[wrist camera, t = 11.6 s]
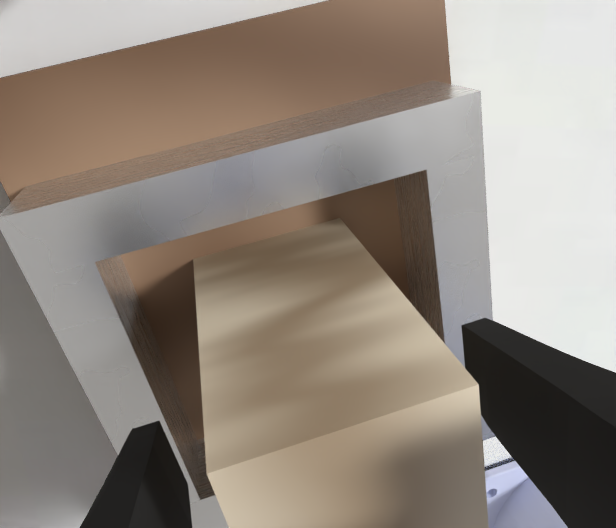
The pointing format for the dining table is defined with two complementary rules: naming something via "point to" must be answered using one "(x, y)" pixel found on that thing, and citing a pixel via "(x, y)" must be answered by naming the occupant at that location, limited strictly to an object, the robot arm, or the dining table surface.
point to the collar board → (237, 189)
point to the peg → (331, 392)
